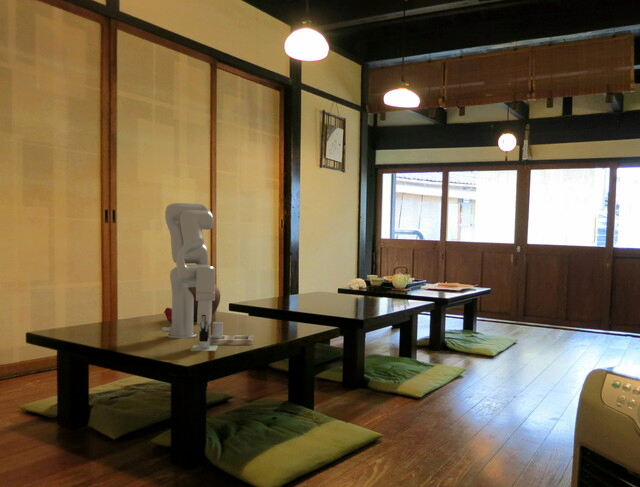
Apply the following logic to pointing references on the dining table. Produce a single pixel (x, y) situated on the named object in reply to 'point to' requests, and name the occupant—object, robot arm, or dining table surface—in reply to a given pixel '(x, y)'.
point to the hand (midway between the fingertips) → (205, 339)
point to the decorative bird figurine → (168, 314)
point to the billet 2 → (217, 330)
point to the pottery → (214, 303)
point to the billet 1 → (207, 344)
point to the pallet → (233, 340)
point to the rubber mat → (196, 348)
